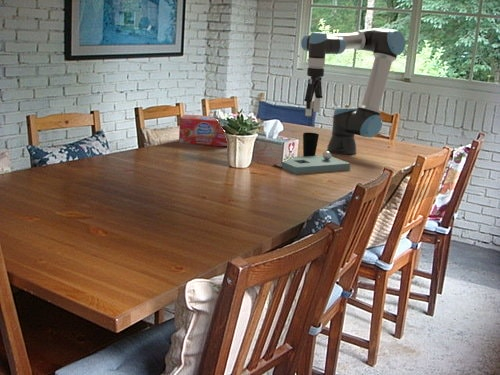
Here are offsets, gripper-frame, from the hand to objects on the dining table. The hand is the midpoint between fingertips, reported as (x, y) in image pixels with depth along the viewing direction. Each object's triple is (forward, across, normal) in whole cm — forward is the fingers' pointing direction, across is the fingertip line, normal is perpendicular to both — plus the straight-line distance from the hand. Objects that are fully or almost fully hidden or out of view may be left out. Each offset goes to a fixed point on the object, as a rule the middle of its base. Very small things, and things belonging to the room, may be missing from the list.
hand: (312, 114), depth 296 cm
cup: (+24, -12, -4) cm, 27 cm away
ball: (+19, 0, +8) cm, 21 cm away
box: (+24, -14, -60) cm, 66 cm away
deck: (+24, +6, +4) cm, 25 cm away
